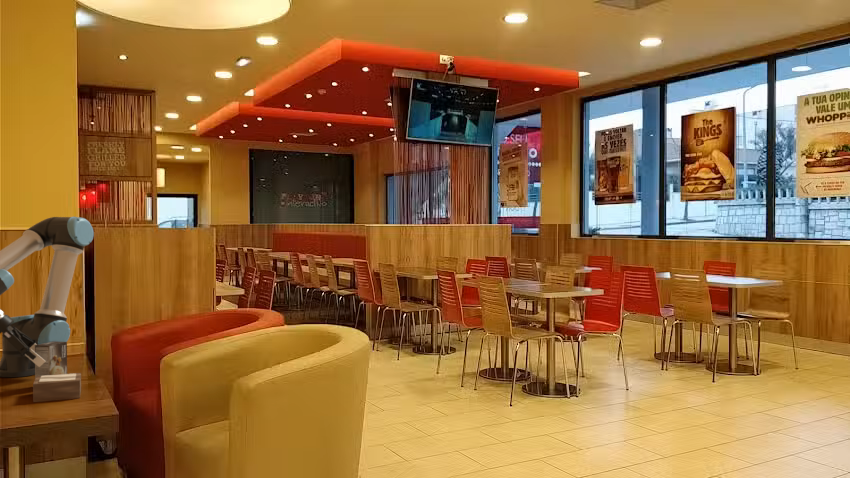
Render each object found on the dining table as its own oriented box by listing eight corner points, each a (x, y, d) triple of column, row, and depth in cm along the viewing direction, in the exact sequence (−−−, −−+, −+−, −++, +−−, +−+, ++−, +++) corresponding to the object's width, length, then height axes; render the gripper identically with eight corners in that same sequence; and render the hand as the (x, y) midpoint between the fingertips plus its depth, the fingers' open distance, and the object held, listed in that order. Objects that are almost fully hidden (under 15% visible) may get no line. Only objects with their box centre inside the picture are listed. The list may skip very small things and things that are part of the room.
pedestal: (36, 393, 243) (36, 375, 243) (81, 389, 249) (81, 372, 249) (33, 402, 230) (33, 383, 230) (79, 398, 236) (79, 379, 236)
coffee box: (52, 383, 258) (52, 340, 258) (67, 384, 257) (67, 341, 257) (34, 389, 249) (34, 344, 249) (49, 390, 248) (49, 345, 248)
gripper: (-7, 324, 255) (39, 362, 261) (-19, 334, 232) (32, 375, 238) (10, 309, 257) (55, 347, 263) (0, 317, 234) (49, 359, 241)
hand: (44, 360), depth 251 cm, fingers open, 13 cm apart
